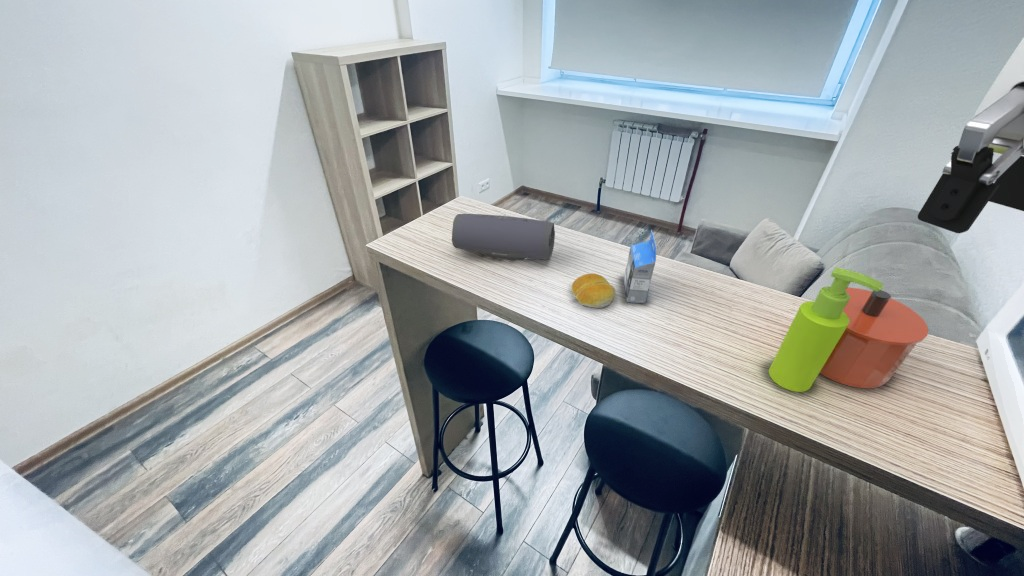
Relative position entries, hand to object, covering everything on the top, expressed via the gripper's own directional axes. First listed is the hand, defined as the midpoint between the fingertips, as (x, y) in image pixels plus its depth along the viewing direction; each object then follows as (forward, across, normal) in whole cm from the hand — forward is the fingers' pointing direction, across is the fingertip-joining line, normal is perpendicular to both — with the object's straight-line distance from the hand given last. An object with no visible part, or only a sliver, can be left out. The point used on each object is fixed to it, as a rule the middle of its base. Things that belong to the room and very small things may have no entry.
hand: (975, 215), depth 34 cm
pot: (+34, +20, +10) cm, 41 cm away
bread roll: (+34, -8, +42) cm, 55 cm away
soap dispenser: (+34, +9, +10) cm, 37 cm away
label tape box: (+34, +1, +40) cm, 53 cm away
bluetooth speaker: (+34, -19, +64) cm, 75 cm away
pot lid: (+25, +20, +10) cm, 34 cm away
